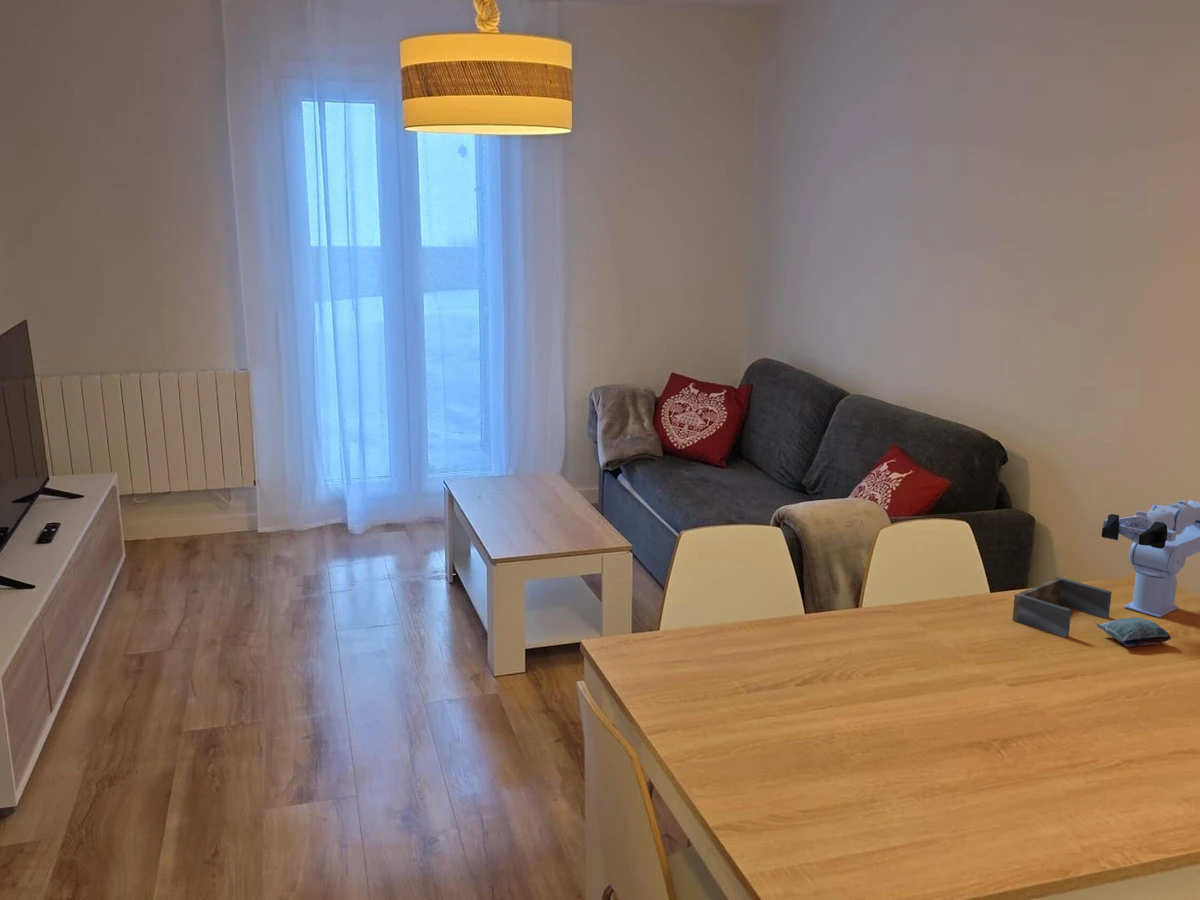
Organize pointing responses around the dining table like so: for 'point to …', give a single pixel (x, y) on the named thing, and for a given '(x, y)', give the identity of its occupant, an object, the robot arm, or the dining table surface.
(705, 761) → the dining table surface
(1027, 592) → the grey u-shaped bracket
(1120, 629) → the packaged food
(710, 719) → the dining table surface
